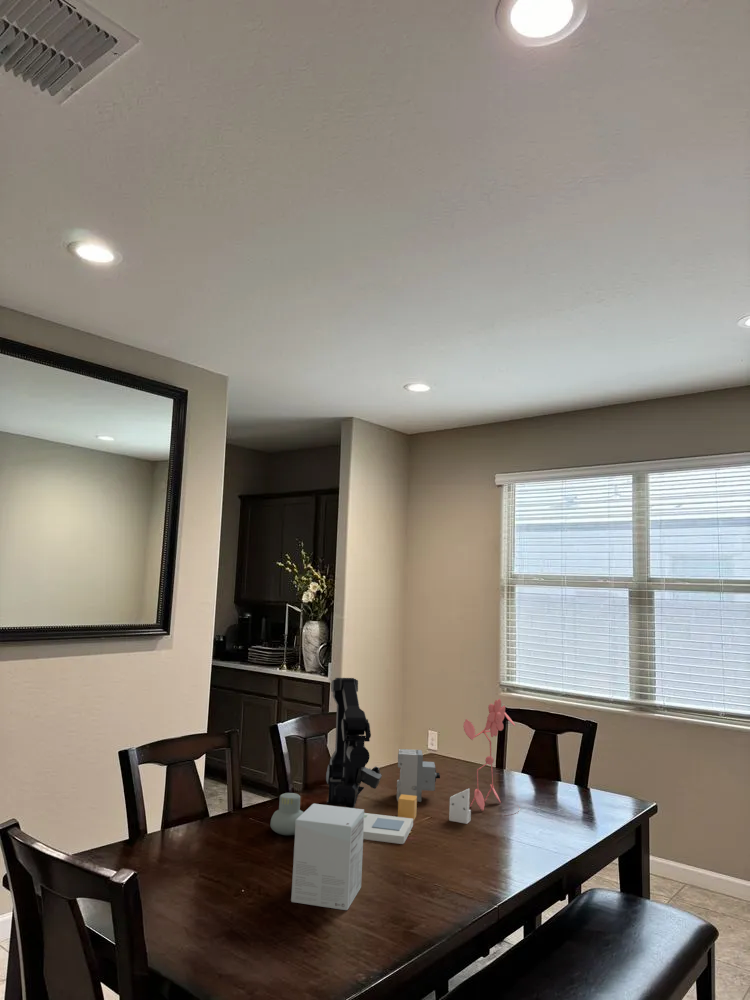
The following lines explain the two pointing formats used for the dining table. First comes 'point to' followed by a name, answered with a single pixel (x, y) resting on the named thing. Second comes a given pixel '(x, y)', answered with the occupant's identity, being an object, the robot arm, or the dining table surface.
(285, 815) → the air freshener
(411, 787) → the circuit breaker
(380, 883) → the dining table surface
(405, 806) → the cap
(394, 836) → the breaker panel
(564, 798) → the dining table surface
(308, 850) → the supplement box
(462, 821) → the white wedge bracket
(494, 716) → the figurine
